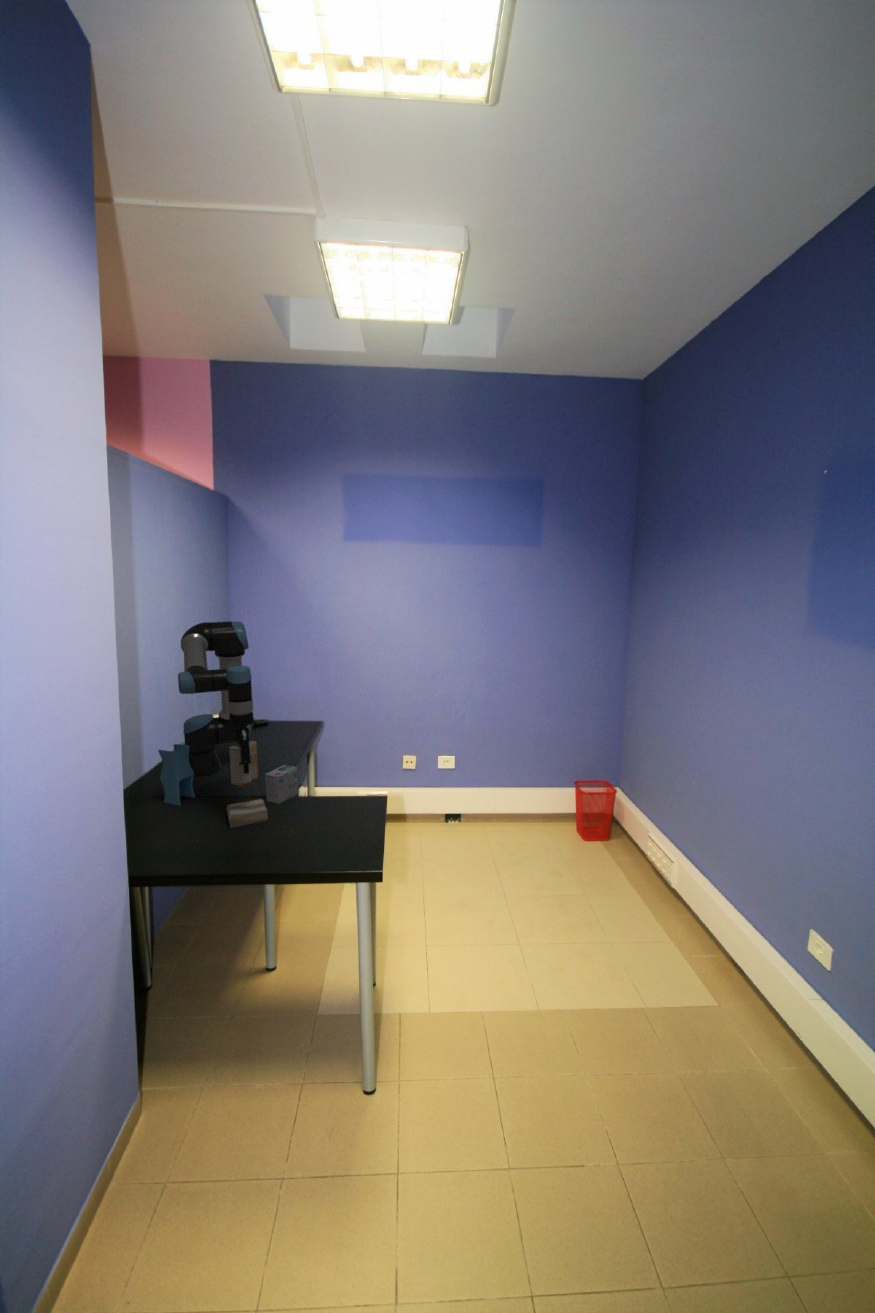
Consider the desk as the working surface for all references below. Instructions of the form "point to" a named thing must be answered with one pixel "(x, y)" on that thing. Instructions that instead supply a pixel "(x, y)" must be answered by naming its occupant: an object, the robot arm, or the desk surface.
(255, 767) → the supplement box
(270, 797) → the light bulb box
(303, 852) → the desk surface
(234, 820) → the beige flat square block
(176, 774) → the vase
